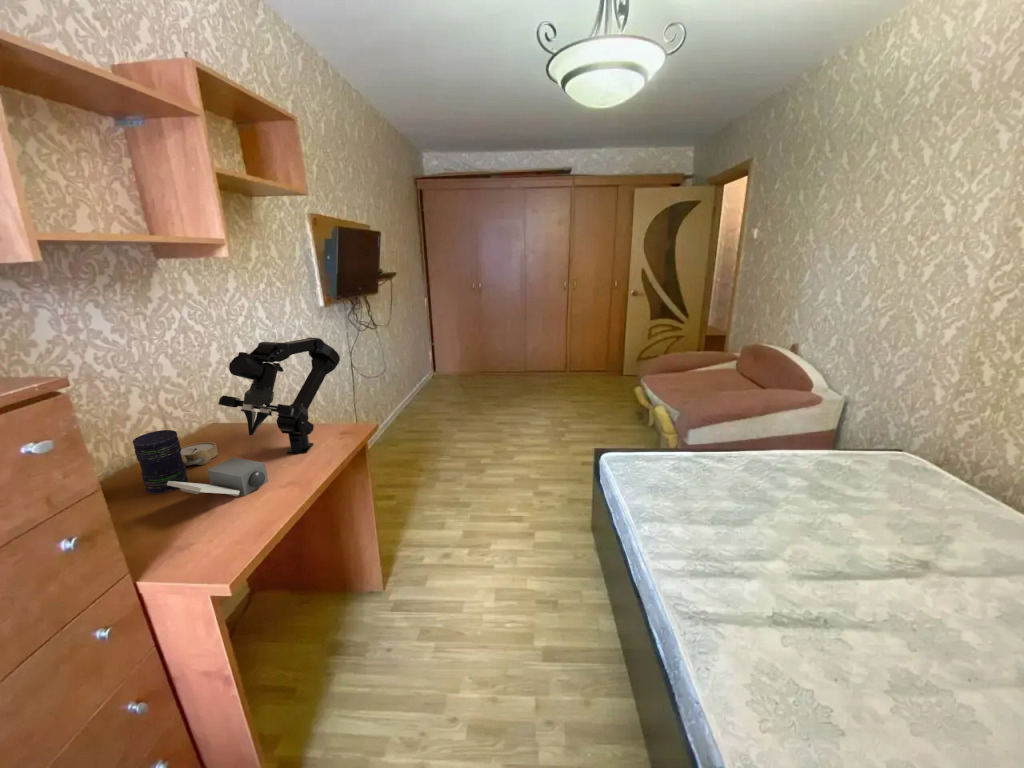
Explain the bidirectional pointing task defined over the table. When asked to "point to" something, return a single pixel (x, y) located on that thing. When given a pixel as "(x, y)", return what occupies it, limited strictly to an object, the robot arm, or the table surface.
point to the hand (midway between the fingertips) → (251, 435)
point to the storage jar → (160, 460)
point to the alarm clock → (198, 453)
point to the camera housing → (238, 475)
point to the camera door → (202, 488)
